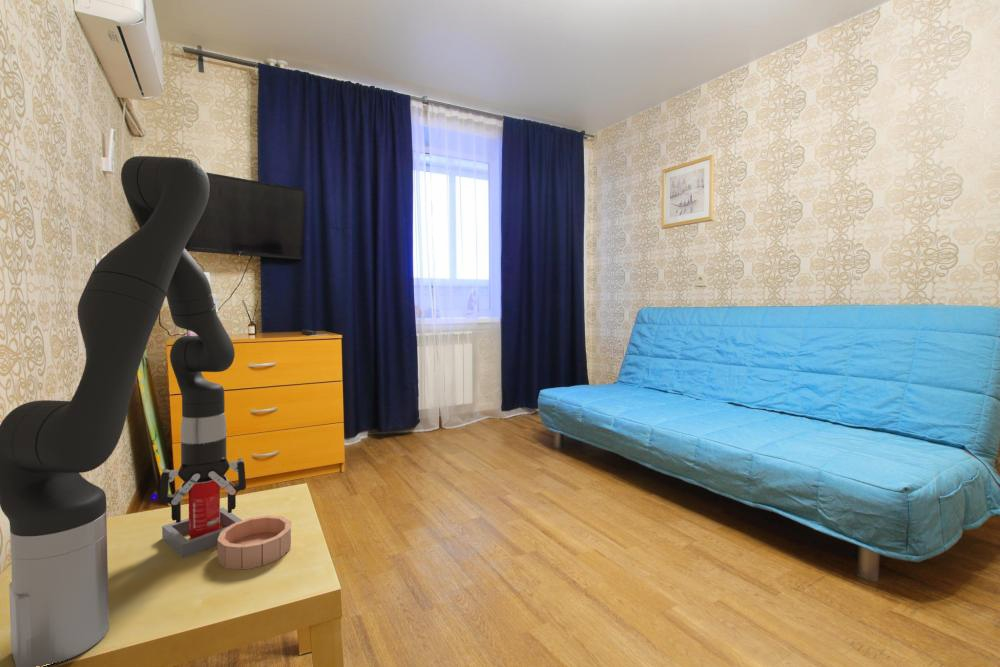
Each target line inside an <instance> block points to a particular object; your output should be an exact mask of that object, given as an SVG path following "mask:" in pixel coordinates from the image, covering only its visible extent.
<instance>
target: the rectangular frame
mask: <svg viewBox="0 0 1000 667" xmlns="http://www.w3.org/2000/svg"><path fill="white" fill-rule="evenodd" d="M239 521H242V519H241V518H239V517H238V516H237V515H235V514H234V513H228V509H227V508H225V507H220V524H221V523H222V524H223V525H222V524H221V525H222V526H223V527H222V528H220V529H219V530H216V531H213V532H210V533H207V534H205V535H202V536H199V537H196V538H193V539H191V538H190V539H187V538H186V537H185V536H184V535H185V534H189V517H188V518H183V519H181V522H179V523H176V521H174V522H171V523H168V524H166V525H165V524H164V525H162V527H161V529H162V531H161V532H162V533H161V534H162V536H161V537H162V540H163V541H165V543H166V544H168V546H170V548H172V549H173V550H174V551H175V552H176V554H178V555H179V556H180V557H181V558H182V559H184V558H188V557H190V556H193V555H196V554H198V553H202V552H205V551H206V550H210V549H212V548H215V547H217V540H218V537H219V535H220V532H221V531H222V530H224V529H226V528H227V527H229V526H230V525H232V524H233V523H236V522H239ZM225 526H226V527H225Z"/></svg>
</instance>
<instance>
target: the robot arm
mask: <svg viewBox="0 0 1000 667" xmlns="http://www.w3.org/2000/svg"><path fill="white" fill-rule="evenodd" d="M120 171H121V172H120V181H121V185H122V190H123V194H124V196H125V199H126V201H127V203H128V206H129V209H130V211H131V213H132V215H133V217H134V219H135V221H136V223H137V226H138V229H137V231H135V232H134V233H132V234H131V235H130V236H128V237H127V238H126V239H124V240H123V241H122V242H120V243H119V244H118V245H116V246H115V247H114V248H112V249H111V250H110V251H109V252H107V253H106V255H105V256H102V258H101V259H100V260H99V261H98V262H97V264H96V265H95V266H94V267H93V270H92V272H91V274H90V276H89V278H88V280H87V282H86V284H85V286H84V289H83V291H82V293H81V294H80V299H79V300H78V304H77V319H78V320H77V321H78V323H79V324H78V325H79V329H80V332H81V333H80V334H81V337H82V340H83V343H84V349H85V358H86V359H85V364H84V368H83V372H82V375H81V378H80V381H79V383H78V386H77V388H76V390H75V392H74V393H73V396H72V397H71V400H70V401H69V400H52V399H51V400H50V399H47V400H45V399H43V400H34V401H29V402H26V403H23V404H21V405H18V406H16V407H15V408H13V410H11V411H10V412H9V413H8V414H6V416H5V417H4V419H2V421H1V422H0V509H1V511H2V513H3V514H4V516H5V517H6V518H7V520H8V522H9V534H10V535H9V536H10V540H9V542H10V566H11V581H10V582H9V585H8V587H9V614H10V615H9V618H10V619H9V620H10V643H11V644H10V645H11V646H10V647H11V650H10V652H11V651H12V652H11V655H13V656H12V658H14V659H13V661H15V663H14V664H15V665H16V666H15V665H14V666H15V667H36V666H43V665H46V664H52V663H57V662H60V663H62V662H61V661H63V662H65V660H66V661H67V659H68V660H70V659H72V658H74V657H77V656H79V655H81V654H83V653H84V652H86V651H88V650H90V649H91V648H92V647H94V646H95V645H97V644H98V643H99V642H100V641H101V640H102V639H104V637H105V636H106V634H107V633H108V631H109V627H110V609H109V608H110V607H109V578H108V577H109V573H108V572H109V568H108V567H109V566H108V564H109V563H108V529H107V528H108V527H107V526H108V524H107V523H108V522H107V521H108V520H107V495H106V493H105V491H104V490H103V489H102V488H101V487H100V486H97V485H96V484H94V483H92V482H90V481H88V480H87V479H86V478H85V477H84V476H82V475H81V473H83V474H84V473H87V472H91V471H94V470H95V469H97V468H99V467H100V466H102V465H103V464H104V463H105V462H107V461H108V459H109V458H110V457H111V455H112V454H113V453H114V451H115V449H116V447H117V445H118V443H119V441H120V439H121V436H122V433H123V430H124V427H125V425H126V424H125V423H126V419H127V415H128V411H129V407H130V403H131V399H132V394H133V392H134V391H133V390H134V387H135V383H136V379H137V376H138V372H139V369H140V365H141V364H142V360H143V357H144V354H145V351H146V348H147V347H148V346H147V344H148V342H149V339H150V336H151V334H152V331H153V329H154V327H155V324H156V322H157V320H158V318H159V315H160V313H161V311H162V307H163V306H164V302H165V300H166V301H167V304H168V308H169V312H170V316H171V319H172V322H173V324H174V325H175V326H176V327H177V328H180V329H183V330H187V331H190V332H192V333H194V334H195V335H183V336H180V337H178V338H176V340H175V341H174V342H173V343H172V346H171V348H170V351H169V361H170V366H171V368H172V370H173V373H174V376H175V379H176V383H177V384H178V388H179V391H180V394H181V423H180V467H179V469H168V468H164V469H163V470H162V472H161V474H160V483H159V484H160V486H159V503H160V504H162V505H164V504H168V505H170V506H171V520H172V521H174V522H176V523H179V522H181V520H182V499H183V498H184V496H186V495H187V494H188V493H189V490H190V489H191V488H192V486H193V485H194V484H195V483H196V482H197V481H202V482H204V481H209V480H214V481H215V482H216V483H217V484H218V485H219V486H220V488H221V489H223V490H225V491H226V493H227V510H228V513H232V512H233V510H235V509H236V507H237V506H236V502H237V498H236V497H237V496H236V495H237V493H238V492H240V491H244V490H246V489H247V483H246V482H247V481H246V480H247V479H246V470H245V462H244V459H243V458H238V459H237V460H234V461H228V460H227V421H226V420H227V419H226V413H225V406H226V405H225V401H226V400H225V398H226V397H225V389H224V387H223V385H221V384H219V383H216V382H213V381H209V380H207V379H206V378H205V376H204V375H203V373H219V372H225V371H227V370H228V369H229V368H230V367H231V366H232V365H233V363H234V359H235V354H236V353H235V352H236V351H235V346H234V344H233V342H232V339H231V337H230V335H229V334H228V332H227V330H226V329H225V327H224V325H223V323H222V322H221V319H220V318H219V316H218V314H217V312H216V307H215V302H214V297H213V296H214V295H213V293H212V288H211V284H210V281H209V280H208V277H207V276H206V273H205V271H204V270H203V269H202V267H201V266H200V265H199V263H198V262H196V259H195V258H194V257H193V256H192V255H191V253H190V252H188V250H187V249H186V246H187V244H188V242H189V240H190V239H191V237H192V235H193V232H194V231H195V229H196V226H197V225H198V224H199V221H200V219H202V216H203V214H204V212H205V210H206V207H207V205H208V202H209V198H210V192H211V191H210V189H211V187H210V185H211V184H210V179H209V175H208V174H207V171H206V169H205V168H204V167H203V166H202V165H201V164H199V163H198V162H197V161H195V160H192V159H189V158H183V157H176V156H175V157H174V156H173V157H171V156H151V155H150V156H148V155H147V156H146V155H139V156H138V155H137V156H135V155H134V156H132V157H130V158H128V159H126V160H125V162H124V163H123V165H122V168H121V170H120ZM230 469H232V470H233V472H235V473H237V478H238V479H237V480H238V482H237V483H235V484H234V483H233V482H232V481H230V480H229V478H228V477H227V476H226V473H228V471H229V470H230ZM176 477H179V478H180V479H181V480H182V483H181V484H180V486H179V488H178V489H177V490H176V491H175V493H174V494H170V493H169V491H170V490H169V488H170V483H171V482H172V483H173V481H174V480H175V478H176ZM232 514H233V513H232ZM57 664H58V663H57Z"/></svg>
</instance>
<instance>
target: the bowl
mask: <svg viewBox="0 0 1000 667" xmlns="http://www.w3.org/2000/svg"><path fill="white" fill-rule="evenodd" d="M241 520H242V519H241ZM291 545H292V521H291V520H289V519H288V518H286V517H284V516H281V515H271V514H269V515H268V514H267V515H261V516H253V517H248V518H246V519H243V520H242V521H239V522H236V523H233V524H232V525H230V526H229V527H227V528H226V529H224V530H222V531H221V532H220V535H219V537H218V540H217V546H216V547H217V563H218V564H220V565H221V566H222V567H223V568H225V569H232V570H247V569H253V568H259V567H260V568H261V567H263V566H266V565H269V564H270V563H273V562H276V561H277V560H280V559H281V558H282V557H283V556H285V555H286V554H287V553H288V552H289V551H290V550H291V548H290V547H291ZM288 550H289V551H288ZM286 552H287V553H286ZM285 553H286V554H285Z"/></svg>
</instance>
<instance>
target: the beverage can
mask: <svg viewBox="0 0 1000 667" xmlns="http://www.w3.org/2000/svg"><path fill="white" fill-rule="evenodd" d="M220 489H221V487H220V486H219V485H218V484H217V483H216V482H215V481H214V480H209V481H204V482H202V481H197V482H196V483H195V484H194V485H193V486H192V488H191V489H190V490H189V491H188V518H189V533H188V536H189V538H190V539H193V538H196V537H199V536H202V535H205V534H207V533H210V532H213V531H216V530H219V529H221V523H220V508H221V494H220V493H221V492H220V491H221V490H220Z"/></svg>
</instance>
